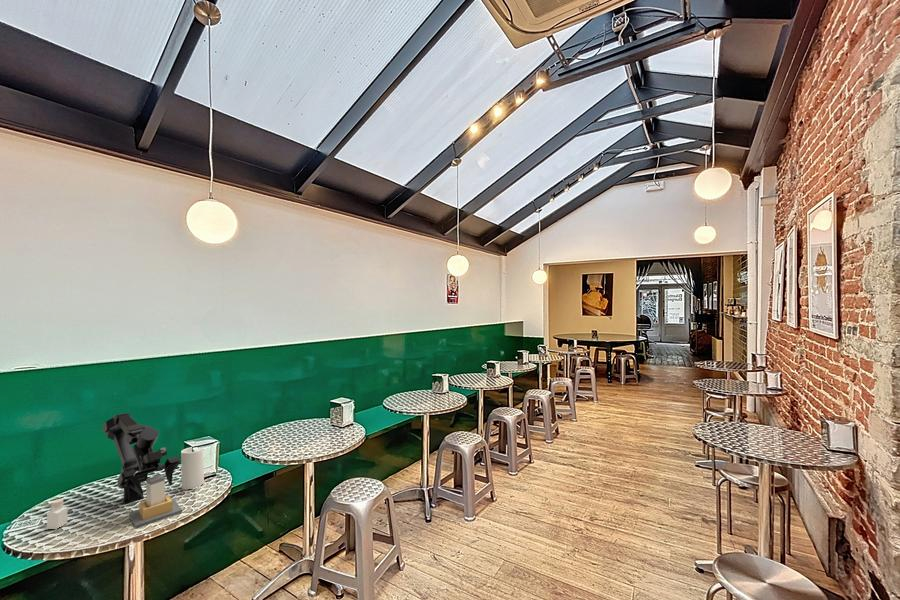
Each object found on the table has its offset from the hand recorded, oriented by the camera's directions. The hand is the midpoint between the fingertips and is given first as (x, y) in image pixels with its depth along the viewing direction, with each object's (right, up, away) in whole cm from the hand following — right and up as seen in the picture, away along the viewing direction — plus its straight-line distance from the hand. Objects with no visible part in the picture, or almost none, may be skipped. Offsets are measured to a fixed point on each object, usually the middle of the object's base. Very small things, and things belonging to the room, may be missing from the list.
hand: (157, 489), depth 146 cm
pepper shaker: (-31, -11, -7) cm, 33 cm away
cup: (-2, -10, +24) cm, 26 cm away
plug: (-1, -8, +1) cm, 8 cm away
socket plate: (-1, -9, +1) cm, 9 cm away
